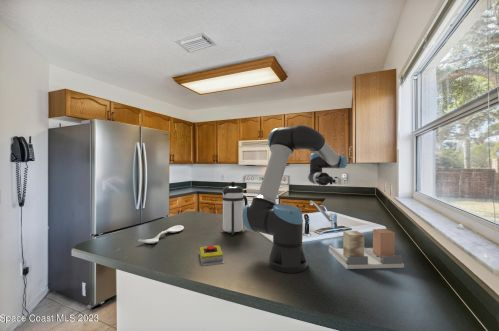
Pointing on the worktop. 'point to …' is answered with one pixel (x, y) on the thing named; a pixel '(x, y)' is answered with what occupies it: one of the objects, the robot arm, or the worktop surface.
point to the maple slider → (353, 243)
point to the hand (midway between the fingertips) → (339, 181)
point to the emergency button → (211, 255)
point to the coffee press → (232, 208)
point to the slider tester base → (366, 260)
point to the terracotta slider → (383, 242)
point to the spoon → (172, 229)
